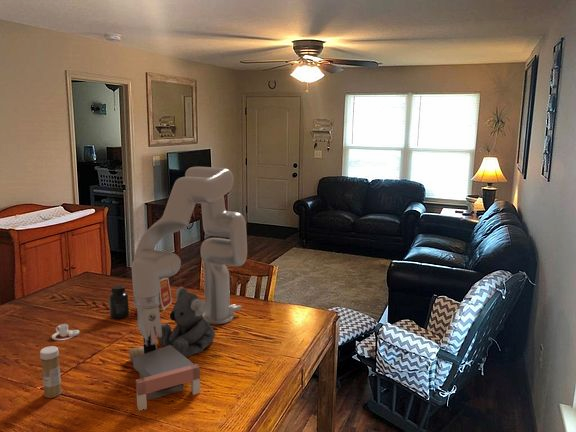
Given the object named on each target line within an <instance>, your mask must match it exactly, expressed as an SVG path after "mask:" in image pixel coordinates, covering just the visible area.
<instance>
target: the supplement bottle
mask: <svg viewBox="0 0 576 432" xmlns="http://www.w3.org/2000/svg"><path fill="white" fill-rule="evenodd" d="M108 300H109V315H110V319H112V320H115V321H117V320H118V321H119V320H124V319H127V318H128V317H129V316H130V306H129V305H130V303H129V295H128V293H127V292H126V287H125V285H123V284H118V285H113V286H111V294H110V295H109V297H108Z"/></svg>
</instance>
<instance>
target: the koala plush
mask: <svg viewBox="0 0 576 432" xmlns="http://www.w3.org/2000/svg"><path fill="white" fill-rule="evenodd" d="M176 289H177V290H176V292H175V296H176V301H175V303H174V306H173V308H172V310H171V312H170V314H169V318H170V320H171V321H174V322H175V323H176V325H175V327H173V330H172V328H171V326H170V324H169V323H164V324H162V323H161V329H162V337H161V338H160V337H158V336H157V335H156V339H157V342H158V343H159V344H160V345H162V346H163V347H165V346H168V345H171V346H172V347H174V348H175V349H176V350H177V351H179V352H180V353H181V354H182V355H183V356H185V357H186V358H188V357H190V356H193V355H195V354H199V353H202V352H203V351H204V350H205V349H206V348H208V347H209V346H210V344H212V343H213V341H214V339H215V337H216V333H215V330H214V328H213V327H212V324H209V323H208V322H206V321H205V319H204V318H203V316H202V315H203V313H205V310H206V309H205V300H203V299H201V298H200V297H199V296H198V295H197V294H195V293H194V292H188V290H187V289H186V288H184V287H183V286H179V288H176Z"/></svg>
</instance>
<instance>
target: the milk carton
mask: <svg viewBox="0 0 576 432" xmlns="http://www.w3.org/2000/svg"><path fill="white" fill-rule="evenodd" d="M159 286H160V304H159V305H158V307H159V311H165V310H166V309H167V308H168V307H169V306H170V305H171V304H172V303H173V300H172V292H171V286H170V280H169V277H168V278H163V279H160V280H159Z"/></svg>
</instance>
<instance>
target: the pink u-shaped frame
mask: <svg viewBox="0 0 576 432" xmlns="http://www.w3.org/2000/svg"><path fill="white" fill-rule="evenodd" d="M193 364H194V365H190V366H186V367H183V368H179V369H175V370H171V371H167V372H164V373H160V374H156V375H152V376H149V377H145V378H138V379H135V388H136V389H135V392H136V406H137V407H138V408H137V407H136V408H137V409H139V410H138V412H141V411H144V410H147V409H148V406H147V402H148V401H147V395H148V394H149V393H151V392H154V391H155V392H156V391H158V390H161V389H162V390H163V389H165V388H168V387H169V388H170V387H172V386H173V387H174V386H175V385H176V386H177V385H181V384H185V383H189V382H190V392H191V394H192V395H197V394H201V374H200V373H201V371H200V369H201V368H200V366H199V364H198V363H193ZM143 409H144V410H143ZM140 410H141V411H140Z"/></svg>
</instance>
